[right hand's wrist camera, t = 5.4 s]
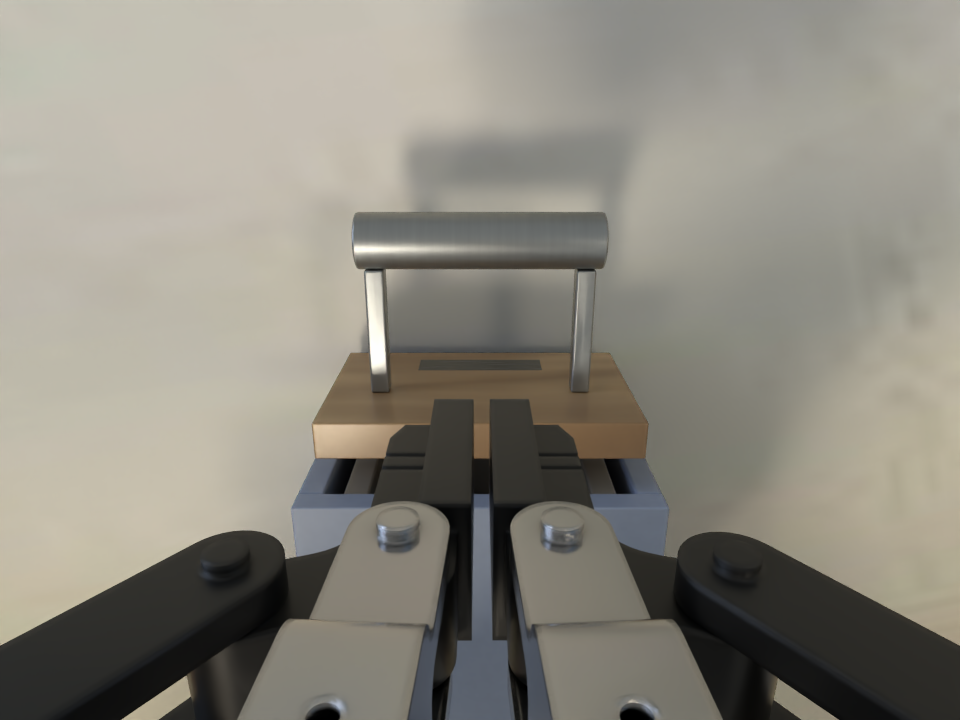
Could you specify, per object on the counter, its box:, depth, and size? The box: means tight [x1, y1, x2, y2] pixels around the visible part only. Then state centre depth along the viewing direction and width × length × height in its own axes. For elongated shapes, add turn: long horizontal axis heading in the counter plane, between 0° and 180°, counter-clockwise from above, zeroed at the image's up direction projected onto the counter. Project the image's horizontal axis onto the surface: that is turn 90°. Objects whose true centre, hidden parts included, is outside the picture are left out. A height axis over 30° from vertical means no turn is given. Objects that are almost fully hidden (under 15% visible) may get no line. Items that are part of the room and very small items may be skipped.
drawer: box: [312, 212, 648, 494], centre depth 23 cm, size 18×10×6 cm, turn 0°
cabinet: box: [291, 458, 669, 720], centre depth 25 cm, size 14×11×8 cm
